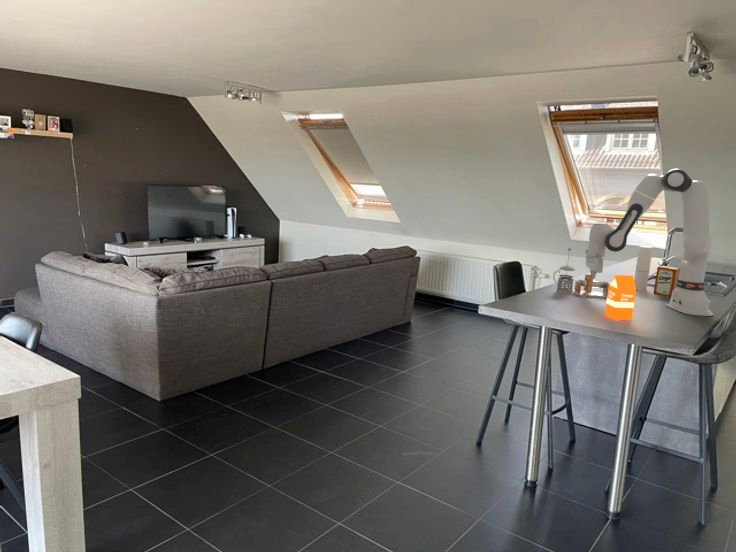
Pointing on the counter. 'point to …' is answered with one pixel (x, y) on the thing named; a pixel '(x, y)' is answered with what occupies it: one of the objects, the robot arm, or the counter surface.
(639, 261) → the cylindrical container
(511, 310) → the counter surface
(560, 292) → the french press
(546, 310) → the counter surface
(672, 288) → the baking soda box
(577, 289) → the pipe rig
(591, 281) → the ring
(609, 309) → the orange juice
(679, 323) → the counter surface
